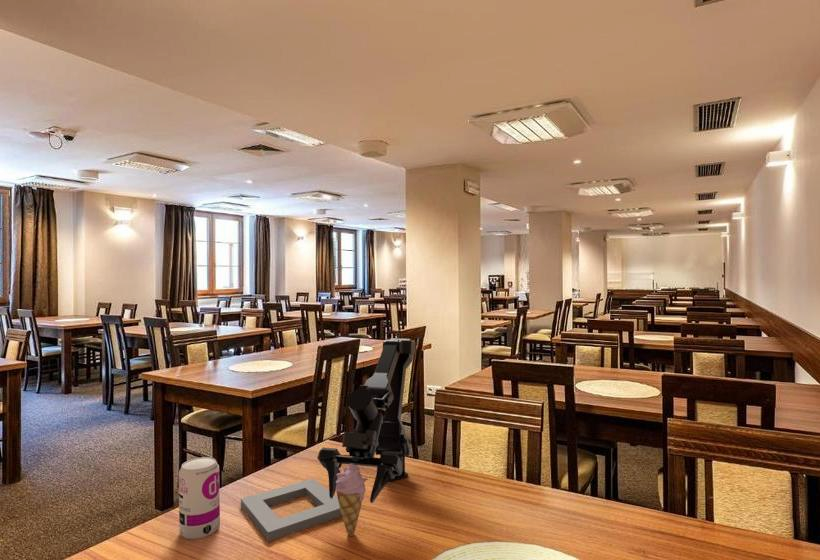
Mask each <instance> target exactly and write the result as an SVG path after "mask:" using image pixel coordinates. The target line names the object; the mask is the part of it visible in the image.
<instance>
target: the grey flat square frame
mask: <svg viewBox="0 0 820 560" xmlns="http://www.w3.org/2000/svg"><path fill="white" fill-rule="evenodd" d="M301 497H306V498H308V500H310V501H311V502H312V503H313V504H314V505H315V506H314V507H312V508H308V509H304V510H303V511H302V510H301V511H300V512H299V511H298V512H296V513H292V514H289V515H286V516H283V517H280V518H279V516H278V515H276V513H275V512H274V511H273V510H272V509H271V507H272V506H276V505H279V504H282V503H284V502H285V503H286V502H287V501H292V500H295V499H298V498H301ZM240 507H241V509H242V511H243V512H244V513H245V514H246V515H247V516H248V518H249V519H250V520H251V522H252V523H253V525H254V526H255V527H256V528H257V529H258V531H259V532H260V533H261V535H262V536H263V537H264V538H265V540H266V541H267V542H271V541H274V540H277V539H280V538H283V537H285V536H288V535H292V534H294V533H297V532H300V531H304V530H306V529H309V528H312V527H316V526H317V525H321V524H323V523H327V522H329V521H332V520H335V519H339V518H341V517H342V514H341V510H340V506H339V502H338V497H337V496H336V495H335V494H334V496H333V498H332V499H331V498H330V496H329V489H327V488H326V487H324V485H322V484H321V483H320V482H318V480H315V478H310V479H306V480H302V481H299V482H295V483H292V484H288V485H285V486H281V487H278V488H274V489H271V490H266V491H263V492H260V493H256V494H252V495H248V496H246V497H242V498H240Z"/></svg>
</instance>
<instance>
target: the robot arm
mask: <svg viewBox="0 0 820 560" xmlns="http://www.w3.org/2000/svg"><path fill="white" fill-rule="evenodd" d="M416 348H417V347H416V342H414V341H413V339H412V338H406V337H405V338H403V337H402V338H398V337H396V338H395V337H391V338H387V339H384V340H383V342H382V350H381V353H380V356H379V358H378V362H377V365H376V367H375V370H374V373H373V374H372V376H371V377H369V378H367V379H366V381H365V382H364V384H360V385H359V386H358V388H357V389H355V390H353V391H351V393H350V394H349V395H348V396H347V399H346V402H347V406H348V408H349V410H350V411H351V414H352V417H354V419H355V420H356V421H357V422H356V426H355V429H352V432H350V431H344V432H343V438H342V445H341V447H342V448H345V451H346V453H349V454H341V453H340V451H339V450H338V448H333V447H322V448H321V449H320V450H319V452H318V454H317V460H318V461H319V463H320V465H322V467H323V468H324V469H325V470H326V471H327V475H328V491H329V496H330V498H331V499H332V498H333V496H334V495H335V493H336V485H337V484H336V481H337V479H338V478H337V474H338V473H341V472H342V471H341V470H340V468H342V465H349V466H350V464H351V463H352V464H354V465H357V466H362V467H373V468H376V475H375V479H374V483H373V485H372V489H371V493H370V497H369V501H370V504H373V503H374V502H375V500H376V499H377V498H378V496H379V495H380V493H381V491H382V490H383V489H384V488H385V486H386V485H387V484H388V483H389V482H394V481H397V480H399V479H402V478H407V477H408V476H409V473H408V472H406V457H407V456H409V455H410V454H411V453H410V450H411V449H410V441H409V440H408V437H407V434H406V428H405V426H404V423H403V422H402V411H403V403H404V392H405V382H406V374H407V369H408V368H409V367H410V365H411V364H412V362H413V358H414V355H416ZM381 409H383V410H385V411H384V415H383V414H382V412H381ZM375 455H376V456H378V455H379V457H375Z"/></svg>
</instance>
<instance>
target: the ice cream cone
mask: <svg viewBox="0 0 820 560" xmlns="http://www.w3.org/2000/svg"><path fill="white" fill-rule="evenodd" d="M342 469H343V471H341V473H338V474H337V478H338V479H337V481H336V484H337V485H336V491H335V493H336V495H337V496H336V497H337V498H338V502H339V506H340V510H341V514H342V516H341V517H342V520H343V524H344V526H345V530H346V533H347V536H348V537H353V536H355V531H356V528H357V524H358V520H359V516H360V513H361V508H362V503H363V501H364V496H365V493H366V486H365V485H366V484H365V483H366V481H367V480H369V478H368V477H363V476H362V474H361V472H360V469H361V468H360V467H359V465H354V464H352V463H351V464H350V465H349V466H348V467H346V466H344V467H343V468H342Z"/></svg>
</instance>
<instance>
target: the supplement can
mask: <svg viewBox="0 0 820 560" xmlns="http://www.w3.org/2000/svg"><path fill="white" fill-rule="evenodd" d="M220 502H221V501H220V465H219V464H218V461H217V459H215V458H214V457H209V456H202V457H196V458H192V459H189V460H187V461H185V462H183V463H182V464H181V467H180V469H179V471H178V515H179V516H178V517H179V534H180V535H181V536H183V537H184V538H185V539H186V540H198V539H203V538H206V537H209V536H211V535H213V534H214V533H215V532H216V531H217V530H218V529H219V527H220V526H221V509H220V508H221V506H220Z"/></svg>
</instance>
